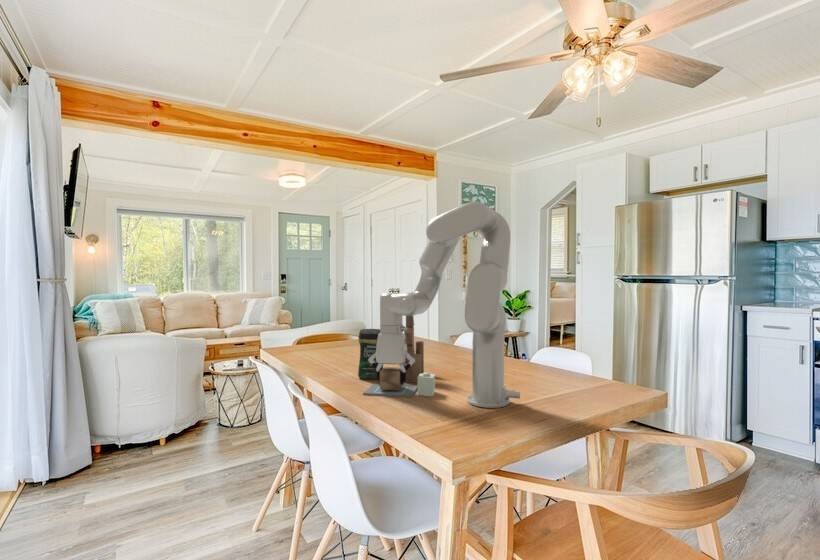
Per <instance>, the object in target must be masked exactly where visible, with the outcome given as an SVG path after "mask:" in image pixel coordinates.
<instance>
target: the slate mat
mask: <svg viewBox="0 0 820 560" xmlns="http://www.w3.org/2000/svg"><path fill="white" fill-rule="evenodd" d="M416 391H418V385H412V384H403V386H402V387H401V389H400V390H399V391H398V390H382V389H380V383H372V384H371V385H370V386H369V387H368V388H367V389H366V390H365V391H364V392H363V394H362V395H363V396H377V395H379V396H378V397H381V396H383V397H396V396H397V397H400V398H413V397H414V394H415V393H416ZM397 397H396V398H397Z"/></svg>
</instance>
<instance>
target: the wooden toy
mask: <svg viewBox="0 0 820 560" xmlns="http://www.w3.org/2000/svg"><path fill="white" fill-rule="evenodd" d="M414 319H415V317H414V316H405V327H407V331H403V333H404V334H405V336H406V343H407V353H408V354H409V355H411V356H412V357H413V358H414V359H415V362H414V363H413V364H412V365H411V367H410V368H409V369H408V370H407V371H406V381H405V382H404V383H418V376H419V374H423V373H425V372H424V371H425V369H424V366H425V364H424V363H425V362H424V361H425V360H424V357H425V356H424V355H425V353H424V351H425V350H424V349H425V348H424V347H425V345H424V344H425V343H424V341H423V340H417V341H415V328H414V326H415V320H414ZM409 362H410V361H409V360H408V359H407V361H406V362H405V365H407V364H408V363H409Z"/></svg>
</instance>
